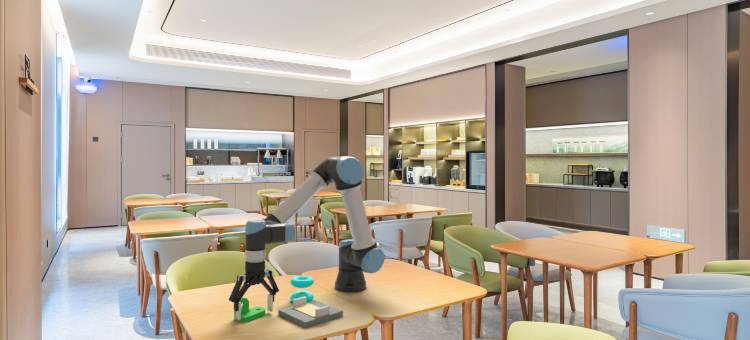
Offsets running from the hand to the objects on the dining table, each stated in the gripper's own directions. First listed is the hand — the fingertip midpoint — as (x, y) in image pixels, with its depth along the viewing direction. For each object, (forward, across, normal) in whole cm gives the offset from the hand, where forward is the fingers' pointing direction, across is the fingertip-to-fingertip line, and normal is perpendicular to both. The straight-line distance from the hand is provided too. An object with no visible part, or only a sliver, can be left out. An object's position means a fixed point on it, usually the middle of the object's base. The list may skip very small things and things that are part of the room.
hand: (254, 314), depth 172 cm
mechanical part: (+1, 0, -2) cm, 2 cm away
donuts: (+1, -25, -4) cm, 25 cm away
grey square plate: (+1, -17, +13) cm, 21 cm away
